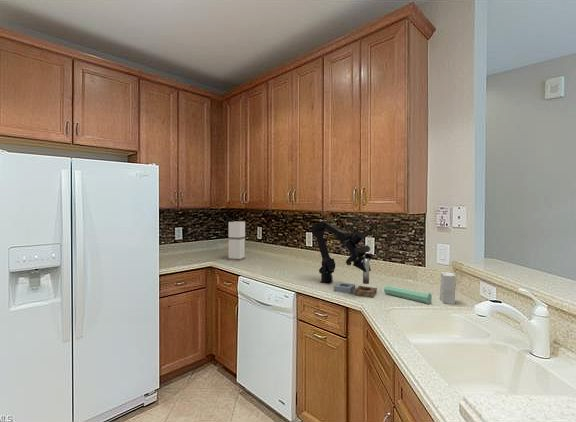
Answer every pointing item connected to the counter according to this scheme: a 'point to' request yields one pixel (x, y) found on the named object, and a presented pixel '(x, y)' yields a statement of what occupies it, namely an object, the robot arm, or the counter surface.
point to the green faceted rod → (408, 294)
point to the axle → (366, 274)
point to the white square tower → (236, 241)
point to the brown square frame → (365, 291)
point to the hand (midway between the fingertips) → (368, 271)
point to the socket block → (344, 287)
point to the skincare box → (447, 287)
